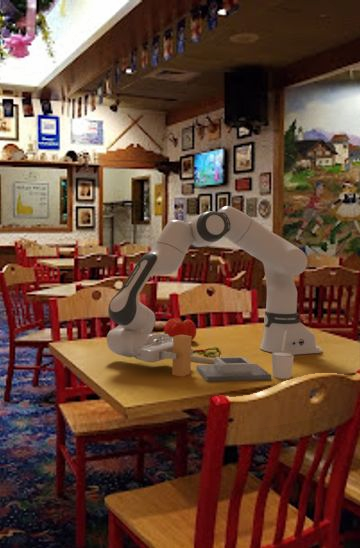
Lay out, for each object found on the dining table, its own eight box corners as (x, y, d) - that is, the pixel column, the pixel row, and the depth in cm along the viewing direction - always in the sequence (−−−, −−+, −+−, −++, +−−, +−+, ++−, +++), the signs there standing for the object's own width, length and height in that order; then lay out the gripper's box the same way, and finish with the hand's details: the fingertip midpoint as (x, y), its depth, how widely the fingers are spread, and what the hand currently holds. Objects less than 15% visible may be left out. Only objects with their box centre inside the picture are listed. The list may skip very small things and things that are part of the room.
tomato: (156, 341, 247) (157, 319, 246) (175, 336, 257) (175, 315, 256) (184, 346, 240) (185, 323, 239) (202, 340, 250) (202, 319, 249)
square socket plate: (256, 368, 209) (256, 354, 208) (271, 379, 195) (271, 365, 195) (196, 369, 205) (196, 355, 204) (207, 381, 191) (207, 366, 191)
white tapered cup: (268, 373, 203) (269, 351, 203) (289, 373, 204) (290, 351, 203) (273, 378, 197) (274, 356, 196) (295, 379, 197) (296, 356, 196)
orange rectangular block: (179, 372, 201) (181, 334, 200) (190, 374, 199) (191, 336, 198) (172, 374, 198) (173, 336, 197) (182, 376, 196) (184, 338, 194)
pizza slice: (173, 360, 219) (173, 351, 219) (200, 349, 237) (201, 341, 237) (214, 367, 212) (214, 358, 212) (239, 355, 230) (239, 347, 230)
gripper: (128, 342, 197) (164, 349, 189) (168, 333, 213) (202, 339, 205) (127, 362, 197) (163, 370, 189) (167, 351, 214) (202, 358, 206)
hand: (184, 354), depth 197 cm, fingers open, 6 cm apart
